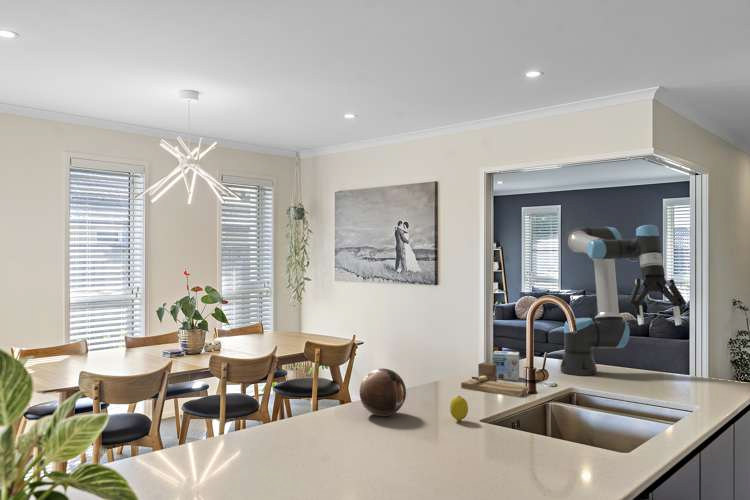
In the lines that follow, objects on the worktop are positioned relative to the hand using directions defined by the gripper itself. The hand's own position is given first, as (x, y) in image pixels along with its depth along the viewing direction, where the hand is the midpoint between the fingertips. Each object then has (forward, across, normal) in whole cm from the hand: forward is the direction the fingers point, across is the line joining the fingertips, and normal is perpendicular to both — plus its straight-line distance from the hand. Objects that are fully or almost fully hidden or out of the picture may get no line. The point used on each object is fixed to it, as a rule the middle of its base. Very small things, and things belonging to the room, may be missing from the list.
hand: (659, 324), depth 208 cm
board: (+21, -53, +27) cm, 64 cm away
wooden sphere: (+32, -99, -3) cm, 104 cm away
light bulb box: (+15, -43, +47) cm, 66 cm away
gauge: (+20, -57, +33) cm, 69 cm away
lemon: (+34, -76, -11) cm, 83 cm away
